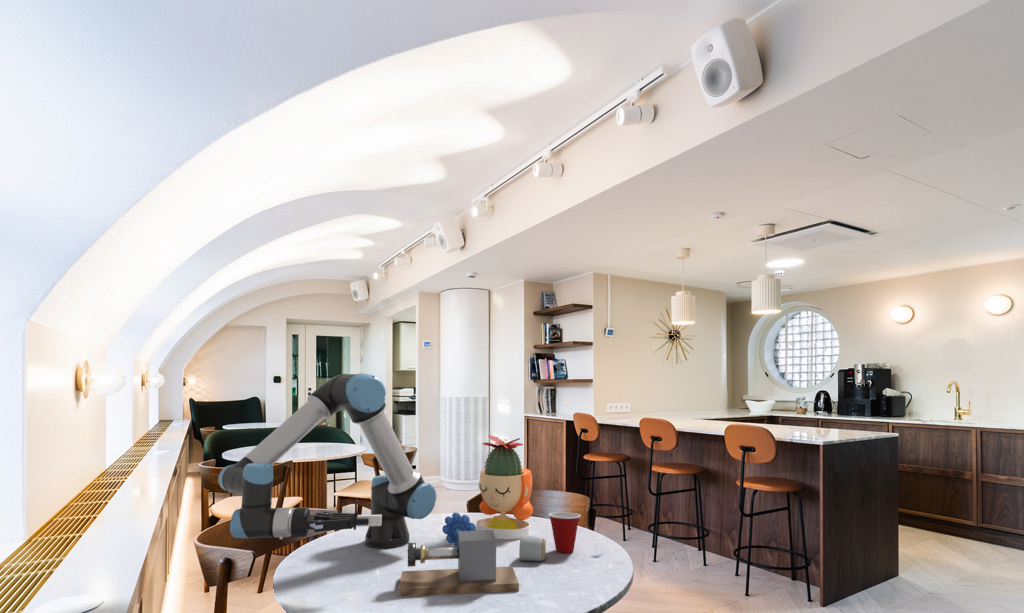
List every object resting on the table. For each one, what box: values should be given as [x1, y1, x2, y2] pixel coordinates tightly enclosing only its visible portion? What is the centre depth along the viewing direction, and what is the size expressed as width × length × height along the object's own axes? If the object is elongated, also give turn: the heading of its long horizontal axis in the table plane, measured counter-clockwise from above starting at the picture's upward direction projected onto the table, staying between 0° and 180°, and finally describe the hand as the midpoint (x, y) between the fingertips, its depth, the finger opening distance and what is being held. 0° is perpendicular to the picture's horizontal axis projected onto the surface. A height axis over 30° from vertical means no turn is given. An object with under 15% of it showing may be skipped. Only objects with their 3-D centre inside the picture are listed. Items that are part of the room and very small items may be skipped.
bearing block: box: [457, 530, 497, 583], centre depth 164 cm, size 10×10×11 cm
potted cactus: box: [475, 435, 534, 540], centre depth 220 cm, size 22×22×35 cm
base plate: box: [398, 566, 520, 598], centre depth 163 cm, size 32×14×2 cm, turn 97°
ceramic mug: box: [518, 535, 547, 562], centre depth 186 cm, size 10×8×7 cm
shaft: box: [407, 542, 459, 568], centre depth 163 cm, size 18×6×6 cm, turn 97°
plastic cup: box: [548, 511, 582, 554], centre depth 194 cm, size 11×11×12 cm
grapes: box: [442, 511, 476, 547], centre depth 195 cm, size 12×7×12 cm, turn 88°
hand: (381, 520), depth 162 cm, fingers closed
